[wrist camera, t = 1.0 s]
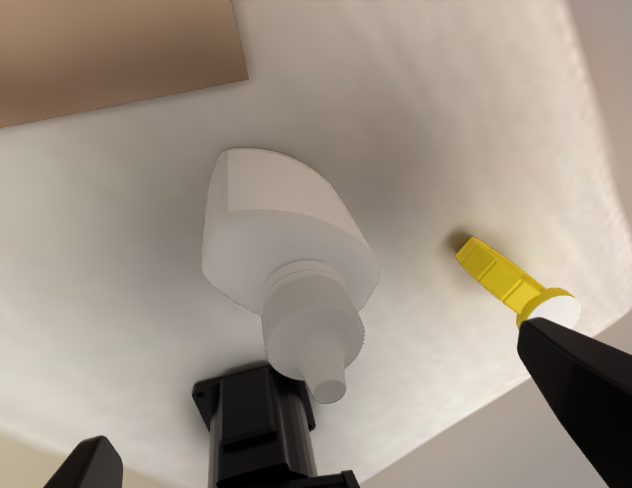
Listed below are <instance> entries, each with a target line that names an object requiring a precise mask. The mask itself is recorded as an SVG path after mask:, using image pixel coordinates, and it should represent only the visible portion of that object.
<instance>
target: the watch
mask: <svg viewBox="0 0 632 488" xmlns="http://www.w3.org/2000/svg"><path fill="white" fill-rule="evenodd" d="M456 258H457V260H458V261H459V263H460V264H461V265H462V267H463V268H464V269H465V270H466V271H467V272H468V273H469V274H471V275H472V276H473V277H474V278H475V279H476V280H477V281H478V282H479V283H480V284H481V285H482V286H483V287H485V288H486V289H487V290H488V291H489V292H491V293H492V294H493V295H494V296H495V297H496V298H498V299H499V300H502V302H503V303H504V304H505V305H506V306H508V307H509V308H510V309H512V310H513V311H514V312H516V313H517V318H516V324H517V327H518V329H519V328H520V324H521V323H522V321H524V320H527V319H531V318H535V317H543V318H545V319H548V320H550V321H553V322H555V323H557V324H560V325H562V326H564V327H567V328H569V329H572V328H573V327H574V325H575V324H576V323H577V321H578V319H579V317H580V312H581V307H580V303H579V302H578V300H577V299H576V298H575V297H574V296H572V295H571V294H570V293H569V292H567V291H566V290H563V289H561V288H548V289H546V288H545V287H544V286H542V285H541V284H540V283H539V282H537V281H536V280H535V279H533V278H532V277H531V276H530V275H528V274H527V273H525V272H524V271H523V270H522V269H520V268H519V267H518V266H516V265H515V264H514V263H512V262H511V261H510V260H508V259H507V258H506V257H504V256H503V255H501V254H500V253H498V252H497V251H495V250H494V249H492V248H491V247H489V246H488V245H486V244H485V243H483V242H482V241H480V240H479V239H478V238H475V237H471V238H470V239H469V240H468V241H467V242H466V244H465V245H464V246H463V247H462V248H461V249H460V250H459V252H458V253H457V254H456Z"/></svg>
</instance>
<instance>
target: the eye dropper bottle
mask: <svg viewBox="0 0 632 488" xmlns="http://www.w3.org/2000/svg"><path fill="white" fill-rule="evenodd" d="M202 271H203V274H204V275H205V277H206V278H207V280H208V281H209V282H210V283H211V284H212V285H213V286H214V287H215V288H216V289H217V290H219V291H220V292H221V293H223V294H224V295H225V296H227V297H228V298H230V299H231V300H233V301H234V302H236V303H237V304H239V305H241V306H243V307H244V308H246V309H248V310H250V311H252V312H254V313H256V314H259V315H261V318H262V327H263V335H264V344H265V352H266V356H267V359H268V360H269V363H270V364H271V365H272V367H274V368H275V370H277V371H278V372H279V373H281V374H282V375H285V376H286V377H289V378H292V379H296V380H304V381H306V383H307V385H308V387H309V389H310V391H311V393H312V395H313V397H314V399H315V400H316V401H317V402H319V403H322V404H329V403H333V402H336V401H338V400H339V399H341V398H342V397H343V395H344V394H345V391H346V385H345V374H344V369H345V368H346V367H347V366H348V365H350V364H351V363H352V362H353V360H354V359H355V358H356V357H357V355H358V354H359V352H360V350H361V348H362V345H363V341H364V336H365V335H364V332H365V331H364V326H363V323H362V321H361V319H360V317H359V314H358V312H359V311H360V310H361V309H362V308H363V307H364V305H365V304H366V302H367V301H368V299H369V297H370V296H371V294H372V292H373V290H374V288H375V286H376V284H377V282H378V279H379V274H380V266H379V264H378V261H377V258H376V256H375V254H374V252H373V251H372V249H371V247H370V245H369V244H368V242H367V240H366V239H365V237H364V236H363V234H362V232H361V231H360V229H359V228H358V226H357V224H356V223H355V221H354V220H353V218H352V217H351V215H350V213H349V212H348V210H347V209H346V207H345V206H344V204H343V203H342V201H341V199H340V198H339V196H338V195H337V193H336V192H335V190H334V189H333V187H332V186H331V185H330V184H329V183H328V181H327V180H325V179H324V178H323V177H322V176H321V175H320V174H319V173H317V172H316V171H315V170H313V169H312V168H311V167H309V166H307V165H306V164H304V163H302V162H300V161H299V160H297V159H294V158H292V157H290V156H287V155H284V154H281V153H278V152H274V151H270V150H264V149H256V148H234V149H228V150H226V151H223V152H222V153H221V154H220V156H219V157H218V159H217V161H216V164H215V167H214V170H213V174H212V177H211V180H210V184H209V188H208V197H207V206H206V215H205V224H204V234H203V245H202Z"/></svg>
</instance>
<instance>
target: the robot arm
mask: <svg viewBox="0 0 632 488" xmlns="http://www.w3.org/2000/svg"><path fill="white" fill-rule="evenodd" d="M517 351H518V355H519V357H520V359H521V361H522V362H523V364H524V365H525V367H526V369H527V370H528V372H529V374H530V375H531V377H532V378H533V380H534V382H535V383H536V385H537V387H538V388H539V390H540V391H541V393H542V395H543V396H544V398H545V400H546V401H547V403H548V404H549V406H550V408H551V409H552V411H553V412H554V414H555V415H556V417H557V419H558V420H559V421H560V423H561V424H562V426H563V427H564V428H565V430H566V431H567V432H568V434H569V435H570V436H571V438H572V439H573V440H574V442H575V443H576V444H577V446H578V447H579V448H580V450H581V451H582V452H583V454H584V455H585V456H586V458H587V459H588V460H589V461H590V463H591V464H592V465H593V467H594V468H595V470H596V471H597V472H598V473H599V475H600V476H601V477H602V479H603V480H604V481H605V483H606V484H607V485H608V486H609V488H632V355H630V354H628V353H626V352H623V351H621V350H619V349H616V348H614V347H612V346H609V345H607V344H604V343H602V342H600V341H597V340H595V339H593V338H590V337H588V336H586V335H583V334H581V333H579V332H576V331H574V330H571V329H569V328H567V327H564V326H562V325H560V324H557V323H555V322H553V321H550V320H548V319H545V318H543V317H535V318H531V319H527V320H524V321H522V323H521V324H520V328H519V336H518V344H517ZM201 391H202V392H201ZM192 397H193V399H194V401H195V403H196V406H197V408H198V410H199V412H200V414H201V416H202V418H203V420H204V422H205V424H206V426H207V429H208V431H209V433H210V448H209V472H208V488H360V487H359V484H358V482H357V480H356V478H355V475H354V473H353V471H352V470H347V471H341V473H339V474H331V475H323V476H318V474H317V469H316V464H315V459H314V454H313V449H312V444H311V439H310V434H309V432H310V431H312V430H313V429H315V426H316V425H315V420H314V416H313V412H312V408H311V404H310V400H309V396H308V392H307V388H306V384H305V381H304V380H296V379H292V378H289V377H286V376H285V375H282V374H281V373H279V372H278V371H277V370H275V368H274V367H272V365H267V366H263V367H259V368H256V369H252V370H248V371H244V372H240V373H237V374H233V375H229V376H225V377H221V378H218V379H214V380H210V381H206V382H202V383H199V384H196V385H195V386H194V387H193V389H192ZM122 478H123V464H122V460H121V457H120V456H119V454H118V453H117V451H116V450H115V449H114V447H113V446H112V444H111V443H110V441H109V440H108V439H107V437H105V436H103V435H100V436H96V437H93V438H89V439H85V440H83V441H81V442H80V443H79V444H78V445H77V446H76V448H75V449H74V450H73V451H72V452H71V454H70V455H69V456H68V457H67V459H66V460H65V461H64V462H63V464H62V465H61V466H60V467H59V469H58V470H57V471H56V473H55V474H54V475H53V476H52V477H51V478H50V480H49V481H48V482H47V483H46V485H45V486H44V487H43V488H122Z"/></svg>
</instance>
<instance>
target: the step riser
mask: <svg viewBox="0 0 632 488" xmlns="http://www.w3.org/2000/svg"><path fill="white" fill-rule="evenodd" d="M248 79H249V78H248V73H247V69H246V64H245V60H244V56H243V51H242V47H241V42H240V38H239V34H238V29H237V25H236V20H235V16H234V12H233V7H232V3H231V0H0V128H3V127H9V126H14V125H19V124H24V123H29V122H34V121H39V120H44V119H49V118H54V117H59V116H64V115H70V114H75V113H80V112H85V111H90V110H95V109H100V108H105V107H110V106H115V105H120V104H126V103H131V102H136V101H141V100H146V99H151V98H156V97H161V96H166V95H171V94H176V93H181V92H187V91H192V90H197V89H202V88H207V87H212V86H217V85H222V84H227V83H232V82H237V81H243V80H248Z"/></svg>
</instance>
